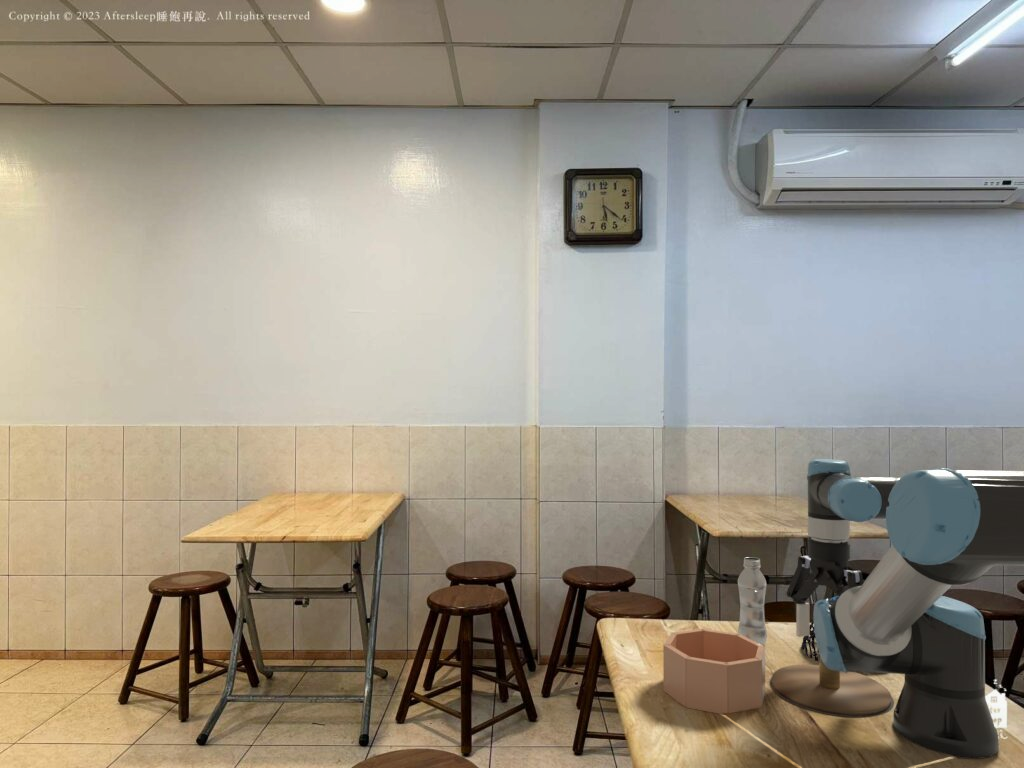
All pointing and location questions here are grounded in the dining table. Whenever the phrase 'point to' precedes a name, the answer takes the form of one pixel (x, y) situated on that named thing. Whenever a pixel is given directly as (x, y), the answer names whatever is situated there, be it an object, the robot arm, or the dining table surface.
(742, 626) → the plastic bottle
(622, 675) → the dining table surface
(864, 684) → the lid
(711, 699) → the bowl
